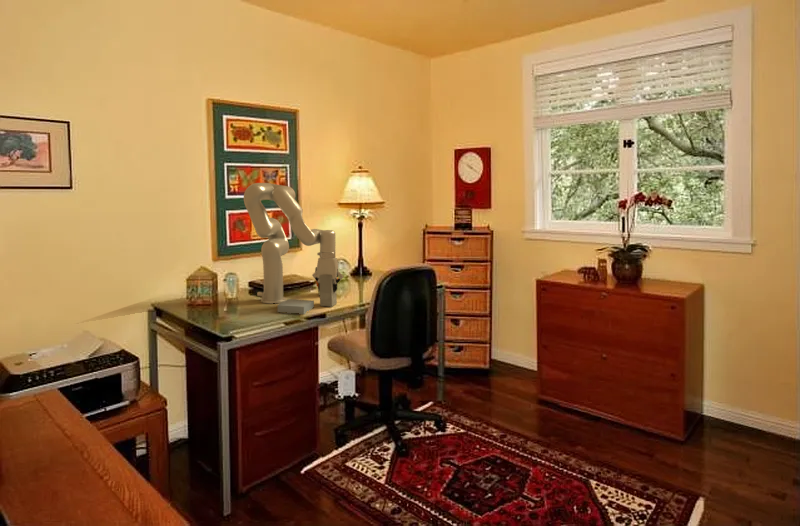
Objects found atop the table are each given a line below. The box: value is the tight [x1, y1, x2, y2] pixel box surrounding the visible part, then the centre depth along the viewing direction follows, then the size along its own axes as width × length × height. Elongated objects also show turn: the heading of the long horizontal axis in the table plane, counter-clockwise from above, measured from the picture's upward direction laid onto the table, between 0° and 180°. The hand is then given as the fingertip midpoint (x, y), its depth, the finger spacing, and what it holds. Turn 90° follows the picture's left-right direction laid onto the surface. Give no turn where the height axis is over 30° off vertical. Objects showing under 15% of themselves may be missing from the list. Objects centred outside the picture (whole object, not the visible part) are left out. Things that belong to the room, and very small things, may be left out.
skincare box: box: [319, 275, 338, 308], centre depth 270 cm, size 8×7×16 cm
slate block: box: [277, 298, 315, 315], centre depth 260 cm, size 13×13×4 cm
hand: (327, 290), depth 270 cm, fingers closed on skincare box, 6 cm apart
